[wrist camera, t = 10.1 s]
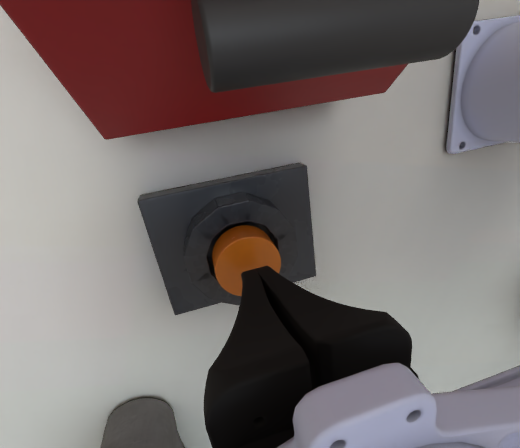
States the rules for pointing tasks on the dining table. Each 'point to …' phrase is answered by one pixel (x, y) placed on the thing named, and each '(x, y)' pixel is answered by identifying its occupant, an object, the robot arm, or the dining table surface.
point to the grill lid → (229, 53)
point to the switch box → (222, 219)
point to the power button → (242, 255)
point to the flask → (142, 426)
